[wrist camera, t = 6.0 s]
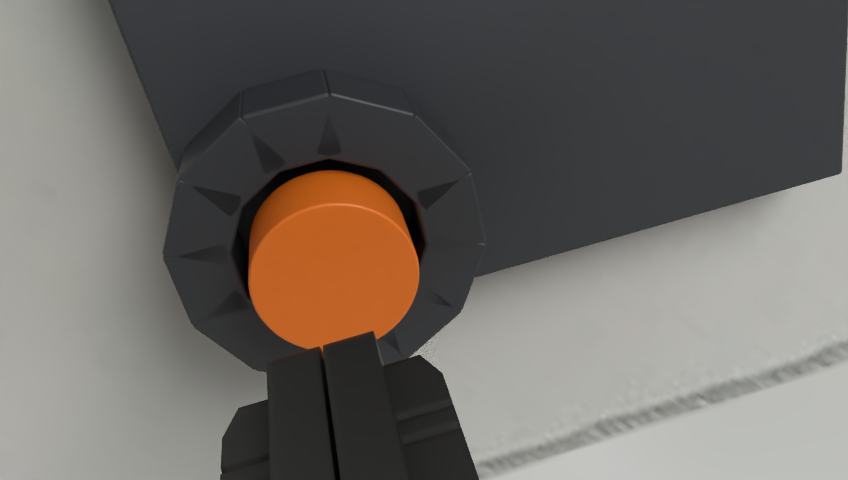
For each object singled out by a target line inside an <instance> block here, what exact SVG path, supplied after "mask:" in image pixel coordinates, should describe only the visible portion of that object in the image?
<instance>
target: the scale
mask: <svg viewBox="0 0 848 480" xmlns="http://www.w3.org/2000/svg"><path fill="white" fill-rule="evenodd" d="M108 2H109V4H110V7H111V9H112V12H113V14H114V17H115V19H116V22H117V24H118V27H119V29H120V32H121V34H122V37H123V39H124V42H125V44H126V47H127V49H128V52H129V54H130V57H131V59H132V62H133V64H134V67H135V69H136V72H137V74H138V77H139V79H140V82H141V84H142V87H143V89H144V92H145V94H146V97H147V99H148V102H149V104H150V107H151V109H152V112H153V114H154V116H155V119H156V121H157V124H158V126H159V129H160V131H161V134H162V136H163V139H164V141H165V144H166V146H167V149H168V151H169V154H170V156H171V159H172V161H173V164H174V166H175V169H176V171H177V174H178V178H177V182H176V187H175V192H174V197H173V203H172V208H171V213H170V218H169V223H168V228H167V233H166V238H165V243H164V248H163V255H164V256H163V260H164V262H165V264H166V266H167V269H168V271H169V273H170V276H171V278H172V280H173V283H174V285H175V287H176V289H177V292H178V294H179V296H180V299H181V301H182V303H183V306H184V308H185V310H186V312H187V315H188V317H189V319H190V322H191V323H192V325H193V326H194V327H195V328H196V329H197V330H198V331H200V332H201V333H203V334H204V335H206V336H207V337H208V338H210V339H211V340H213V341H214V342H216V343H217V344H218V345H220V346H221V347H223V348H224V349H226V350H227V351H228V352H230V353H231V354H233V355H234V356H235V357H237V358H238V359H240V360H241V361H243V362H244V363H245V364H247V365H248V366H250V367H251V368H253V369H256V370H257V371H263V372H267V362H268V361H270V360H273V359H277V358H280V357H284V356H287V355H291V354H294V353H297V352H301V351H304V350H308V349H305V348H302V347H299V346H296V345H294V344H292V343H290V342H288V341H286V340H284V339H282V338H281V337H279V336H278V335H276V334H275V333H274V332H273V331H272V330H271V329H269V328H268V327H267V325H266V324H265V323H264V322H263V321H262V320H261V318H260V317H259V315H258V314H257V312H256V310H255V308H254V306H253V304H252V300H251V297H250V294H249V286H248V270H249V237H250V231H251V226H252V223H253V220H254V218H255V216H256V213H257V211H258V210H259V208H260V207H261V205H262V204H263V202H264V201H265V200H266V199H267V198H268V196H269V195H270V194H271V193H272V192H274V191H275V190H276V189H277V188H278V187H280V186H281V185H283V184H284V183H286V182H287V181H289V180H291V179H293V178H296V177H298V176H301V175H304V174H307V173H311V172H316V171H324V170H340V171H346V172H351V173H355V174H358V175H361V176H363V177H366V178H368V179H370V180H372V181H373V182H375V183H377V184H378V185H380V186H381V187H382V188H383V189H385V190H386V191H387V192H388V193H389V194H390V195H391V196H392V198H393V199H394V200H395V202H396V203H397V205H398V206H399V208H400V210H401V212H402V214H403V217H404V220H405V223H406V226H407V228H408V231H409V234H410V237H411V239H412V242H413V245H414V248H415V251H416V254H417V257H418V262H419V275H420V276H419V284H418V289H417V292H416V296H415V298H414V300H413V303H412V305H411V306H410V308H409V310H408V312H407V313H406V314H405V316H404V317H403V318H402V320H401V321H400V322H399V323H398V324H397V325H396V326H395V327H394V328H393V329H392V330H390V331H389V332H388V333H386V334H385V335H384V336H382V337H380V338H379V339H377V343H378V346H379V350H380V353H381V356H382V359H383V363H384V365H387V364H391V363H394V362H397V361H401V360H404V359H408V358H409V357H410V356H411V355H412V354H413V353H414V352H416V351H417V350H418V349H419V348H420V347H421V346H423V345H424V344H425V343H426V342H427V341H428V340H429V339H431V338H432V337H433V336H434V335H435V334H436V333H437V332H439V331H440V330H441V329H442V328H443V327H444V326H445V325H447V324H448V323H449V322H450V321H451V320H452V319H453V318H455V317H456V316H457V315H458V314H459V313H460V312H461V310H462V309H463V306H464V303H465V301H466V298H467V295H468V293H469V290H470V287H471V285H472V282H473V279H474V278H475V277H478V276H482V275H485V274H489V273H492V272H496V271H499V270H503V269H506V268H510V267H513V266H517V265H520V264H524V263H527V262H531V261H534V260H538V259H542V258H545V257H549V256H552V255H556V254H559V253H563V252H566V251H570V250H573V249H577V248H580V247H584V246H587V245H591V244H594V243H598V242H601V241H605V240H608V239H612V238H616V237H619V236H623V235H626V234H630V233H633V232H637V231H640V230H644V229H647V228H651V227H654V226H658V225H661V224H665V223H668V222H672V221H675V220H679V219H682V218H686V217H690V216H693V215H697V214H700V213H704V212H707V211H711V210H714V209H718V208H721V207H725V206H728V205H732V204H735V203H739V202H742V201H746V200H749V199H753V198H756V197H760V196H763V195H767V194H771V193H774V192H778V191H781V190H785V189H788V188H792V187H795V186H799V185H802V184H806V183H809V182H813V181H816V180H820V179H823V178H827V177H830V176H834V175H837V174H840V173H841V171H842V151H843V127H844V102H845V77H846V53H847V28H848V0H108ZM322 352H323V351H322Z"/></svg>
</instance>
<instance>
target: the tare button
mask: <svg viewBox="0 0 848 480" xmlns="http://www.w3.org/2000/svg"><path fill="white" fill-rule="evenodd" d="M419 276H420V275H419V262H418V257H417V254H416V251H415V248H414V245H413V242H412V239H411V237H410V234H409V231H408V228H407V226H406V223H405V220H404V217H403V214H402V212H401V210H400V208H399V206H398V205H397V203H396V202H395V200H394V199H393V198H392V196H391V195H390V194H389V193H388V192H387V191H386V190H385V189H383V188H382V187H381V186H380V185H378V184H377V183H375V182H373V181H372V180H370V179H368V178H366V177H363V176H361V175H358V174H355V173H351V172H346V171H340V170H324V171H316V172H311V173H307V174H304V175H301V176H298V177H296V178H293V179H291V180H289V181H287V182H286V183H284V184H283V185H281V186H280V187H278V188H277V189H276V190H275V191H274V192H272V193H271V194H270V195H269V196H268V198H267V199H266V200H265V201H264V202H263V204H262V205H261V207H260V208H259V210H258V211H257V213H256V216H255V218H254V220H253V223H252V226H251V231H250V237H249V270H248V286H249V294H250V297H251V300H252V304H253V306H254V308H255V310H256V312H257V314H258V315H259V317H260V318H261V320H262V321H263V322H264V323H265V324H266V325H267V327H268V328H269V329H271V330H272V331H273V332H274V333H275V334H276V335H278V336H279V337H281V338H282V339H284V340H286V341H288V342H290V343H292V344H294V345H296V346H299V347H302V348H305V349H311V348H315V347H318V346H319V347H320V348H321V350H322V351H323V345H326V344H329V343H332V342H336V341H339V340H343V339H346V338H350V337H353V336H357V335H360V334H363V333H367V332H370V331H374V334H375V337H376V340H377V339H379V338H380V337H382V336H384V335H385V334H386V333H388V332H389V331H390V330H392V329H393V328H394V327H395V326H396V325H397V324H398V323H399V322H400V321H401V320H402V318H403V317H404V316H405V314H406V313H407V312H408V310H409V308H410V306H411V305H412V303H413V300H414V298H415V296H416V292H417V289H418V284H419Z"/></svg>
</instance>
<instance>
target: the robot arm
mask: <svg viewBox="0 0 848 480" xmlns="http://www.w3.org/2000/svg"><path fill="white" fill-rule="evenodd" d="M267 389H268V400H264V401H261V402H257V403H254V404H251V405H247V406H244V407H240V408H238V410H237V412H236V414H235V416H234V418H233V419H232V421H231V423H230V425H229V427H228V429H227V431H226V432H225V434H224V436H223V438H222V455H221V470H222V474H221V476H220V480H479V478H478V475H477V472H476V469H475V466H474V463H473V460H472V458H471V455H470V452H469V449H468V446H467V443H466V440H465V437H464V434H463V432H462V429H461V427H460V423H459V420H458V417H457V414H456V411H455V408H454V406H453V403H452V400H451V397H450V394H449V391H448V388H447V385H446V382H445V380H444V377H443V374H442V373H441V372H440V371H439V370H438V369H436V368H435V367H434V366H433V365H431V364H430V363H429V362H428V361H427V360H425V359H424V358H423V357H422V356H420V355H418V356H414V357H411V358H408V359H404V360H401V361H397V362H394V363H391V364H387V365H384V363H383V359H382V356H381V353H380V350H379V346H378V343H377V340H376V337H375V334H374V331H370V332H367V333H363V334H360V335H357V336H353V337H350V338H346V339H343V340H339V341H336V342H332V343H329V344H326V345H323V352H322V350H321V348H320V347H319V346H318V347H315V348H311V349H308V350H304V351H301V352H297V353H294V354H291V355H287V356H284V357H280V358H277V359H273V360H270V361H268V362H267Z"/></svg>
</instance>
